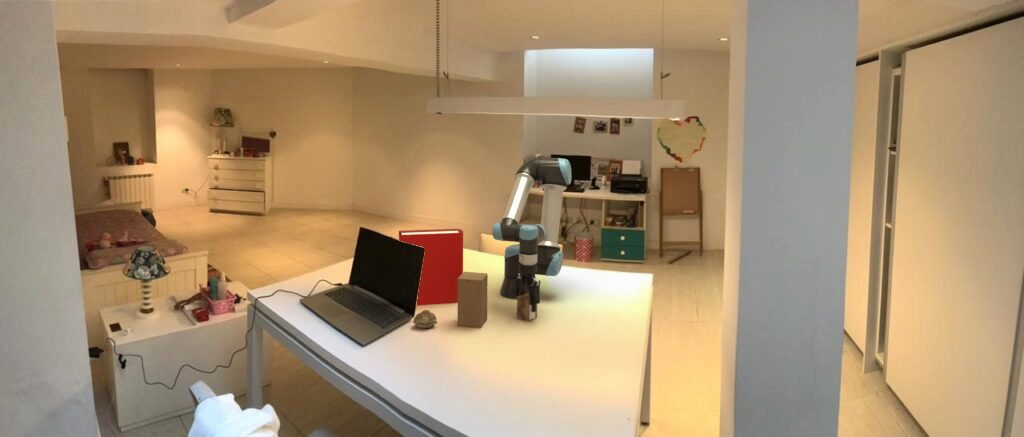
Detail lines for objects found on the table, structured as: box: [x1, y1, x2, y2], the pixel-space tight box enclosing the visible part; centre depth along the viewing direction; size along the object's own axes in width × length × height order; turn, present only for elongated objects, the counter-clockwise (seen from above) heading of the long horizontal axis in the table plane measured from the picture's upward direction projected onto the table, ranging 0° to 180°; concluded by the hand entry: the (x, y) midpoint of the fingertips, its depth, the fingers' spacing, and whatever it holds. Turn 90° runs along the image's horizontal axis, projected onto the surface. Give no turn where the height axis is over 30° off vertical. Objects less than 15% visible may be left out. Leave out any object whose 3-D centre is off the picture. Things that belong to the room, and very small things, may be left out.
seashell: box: [412, 309, 438, 329], centre depth 248 cm, size 9×7×8 cm
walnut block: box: [516, 294, 538, 322], centre depth 260 cm, size 6×6×9 cm
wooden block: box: [457, 271, 489, 329], centre depth 252 cm, size 10×10×20 cm
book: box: [398, 228, 464, 307], centre depth 275 cm, size 27×8×32 cm, turn 104°
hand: (526, 316), depth 261 cm, fingers closed on walnut block, 6 cm apart
